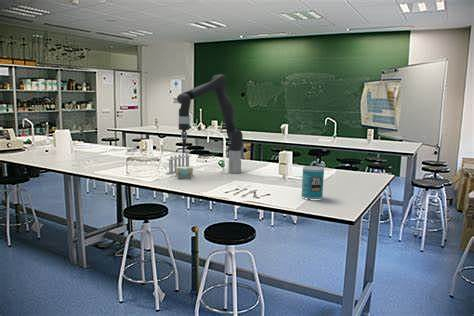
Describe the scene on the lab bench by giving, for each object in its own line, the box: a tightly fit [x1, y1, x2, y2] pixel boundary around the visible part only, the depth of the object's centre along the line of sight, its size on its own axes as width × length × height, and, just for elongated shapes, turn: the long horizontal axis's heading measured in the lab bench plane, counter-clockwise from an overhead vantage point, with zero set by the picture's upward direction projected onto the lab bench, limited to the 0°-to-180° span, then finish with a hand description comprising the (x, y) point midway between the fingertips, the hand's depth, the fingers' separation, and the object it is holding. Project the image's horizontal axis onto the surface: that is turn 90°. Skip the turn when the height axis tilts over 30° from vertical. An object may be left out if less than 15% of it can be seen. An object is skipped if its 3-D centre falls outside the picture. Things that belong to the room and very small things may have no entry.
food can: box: [301, 165, 325, 200], centre depth 216 cm, size 12×12×18 cm
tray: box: [177, 173, 192, 180], centre depth 263 cm, size 9×9×2 cm
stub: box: [180, 168, 189, 176], centre depth 262 cm, size 6×5×6 cm
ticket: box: [175, 166, 194, 177], centre depth 270 cm, size 12×5×6 cm, turn 99°
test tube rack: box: [166, 153, 191, 175], centre depth 283 cm, size 25×4×13 cm, turn 148°
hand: (184, 146), depth 259 cm, fingers open, 8 cm apart
